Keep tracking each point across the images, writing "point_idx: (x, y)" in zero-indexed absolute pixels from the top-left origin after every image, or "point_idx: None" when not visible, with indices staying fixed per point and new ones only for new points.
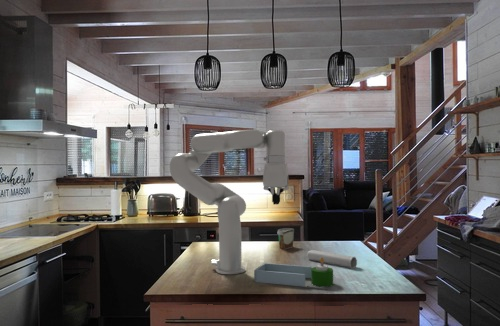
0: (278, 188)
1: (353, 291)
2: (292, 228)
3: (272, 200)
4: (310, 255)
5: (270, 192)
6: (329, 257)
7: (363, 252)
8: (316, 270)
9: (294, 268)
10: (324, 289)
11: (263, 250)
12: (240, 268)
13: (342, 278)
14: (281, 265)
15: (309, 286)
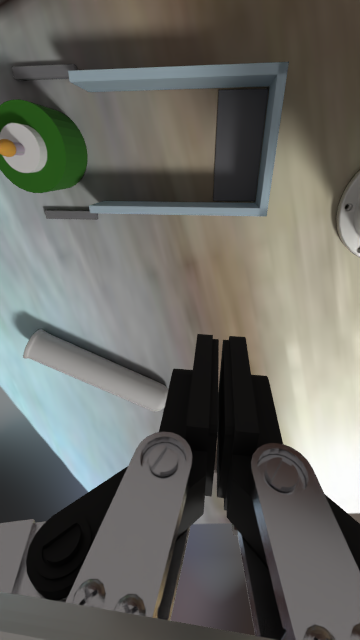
0: (121, 587)
1: None
2: (237, 535)
3: (265, 385)
4: (157, 388)
5: (335, 507)
6: (97, 365)
7: (71, 455)
8: (36, 121)
9: (149, 205)
10: (18, 67)
11: (304, 448)
12: (357, 205)
13: (26, 230)
14: (195, 206)
15: (65, 68)
